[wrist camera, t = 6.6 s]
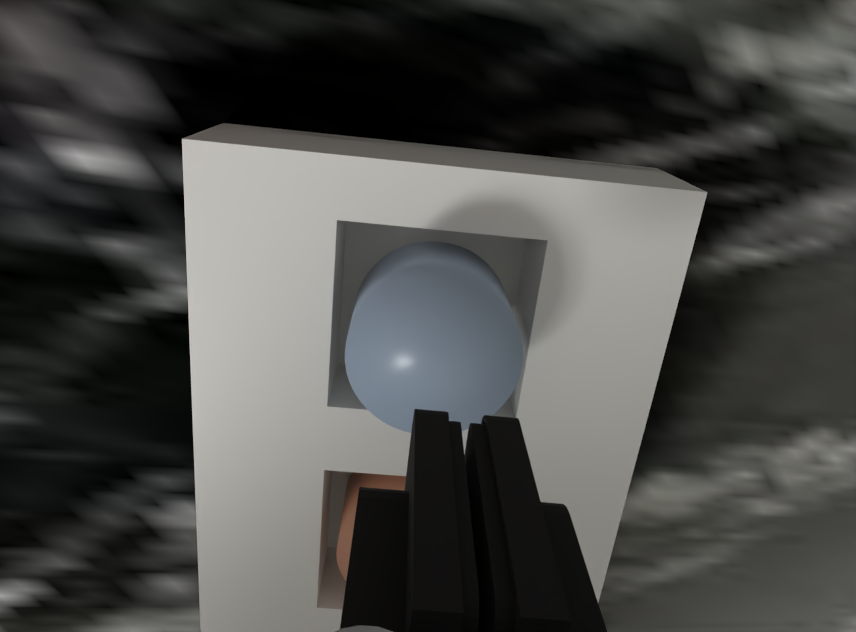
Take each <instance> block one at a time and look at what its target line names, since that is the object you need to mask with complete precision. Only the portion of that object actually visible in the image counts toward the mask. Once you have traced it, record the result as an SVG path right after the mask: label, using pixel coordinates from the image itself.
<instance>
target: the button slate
mask: <svg viewBox="0 0 856 632" xmlns="http://www.w3.org/2000/svg"><path fill="white" fill-rule="evenodd" d="M522 363H523V345H522V339H521V335H520V332H519V329H518V326H517V323H516V320H515V318H514V315H513V312H512V310H511V307H510V304H509V302H508V299H507V296H506V294H505V291H504V288H503V286H502V284H501V282H500V280H499V278H498V276H497V275H496V273H495V272H494V271H493V269H492V268H491V267H490V266H489V265H488V264H487V263H486V262H485V261H484V260H483V259H482V258H480V257H479V256H478V255H476V254H474V253H473V252H471V251H470V250H467V249H465V248H463V247H461V246H458V245H454V244H451V243H445V242H435V241H427V242H418V243H414V244H409V245H406V246H404V247H401V248H398V249H396V250H394V251H393V252H391V253H389V254H388V255H386V256H385V257H383V258H382V259H381V260H380V261H378V262H377V263H376V264H375V265H374V266H373V267H372V269H371V270H370V271H369V272H368V273H367V275H366V277H365V278H364V280H363V282H362V284H361V286H360V288H359V291H358V294H357V298H356V302H355V306H354V310H353V314H352V318H351V323H350V327H349V331H348V335H347V340H346V346H345V366H346V373H347V376H348V379H349V382H350V385H351V387H352V389H353V391H354V393H355V394H356V396H357V397H358V399H359V400H360V402H361V403H362V404H363V405H364V406H365V407H366V409H367V410H369V411H370V412H371V413H372V414H373V415H374V416H375V417H377V418H378V419H380V420H381V421H383V422H384V423H386V424H388V425H390V426H392V427H394V428H397V429H399V430H402V431H405V432H409V433H411V431H412V422H413V415H414V410H415V409H423V410H434V411H445V412H448V414H449V421H456V422H461V428H462V431H464V430H467V429H469V425H470V423H479V424H480V423H481V422H482V418H483V416H484V415H490V416H492V415H493V414H494V413H496V412H497V411H498V410H499V409H500V408H501V407H502V406H503V405H504V404H505V402H506V401H507V400H508V398H509V397H510V396H511V394H512V392H513V390H514V389H515V387H516V384H517V382H518V379H519V377H520V373H521V369H522Z"/></svg>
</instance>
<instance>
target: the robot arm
mask: <svg viewBox="0 0 856 632" xmlns="http://www.w3.org/2000/svg"><path fill="white" fill-rule="evenodd" d="M335 632H607V630H606V627H605V624H604V621H603V617H602V614H601V611H600V608H599V605H598V602H597V598H596V595H595V592H594V589H593V586H592V583H591V579H590V576H589V573H588V570H587V567H586V564H585V561H584V557H583V554H582V551H581V548H580V545H579V542H578V538H577V535H576V532H575V529H574V526H573V523H572V519H571V516H570V513H569V511H568V509H567V507H566V506H565V505H564V504H559V503H547V502H540V498H539V494H538V490H537V486H536V482H535V479H534V475H533V471H532V467H531V463H530V459H529V456H528V452H527V448H526V444H525V440H524V436H523V433H522V429H521V425H520V421H519V419H518V418H512V417H501V416H490V415H484V416H483V418H482V422H481V424H479V423H470V425H469V429H468V435H467V441H466V448H465V454H464V447H463V438H462V428H461V422H456V421H449V414H448V412H445V411H434V410H423V409H415V410H414V415H413V422H412V431H411V439H410V448H409V456H408V465H407V473H406V482H405V490H404V491H403V490H391V489H379V488H367V487H359V493H358V500H357V507H356V514H355V522H354V529H353V536H352V544H351V551H350V558H349V566H348V573H347V580H346V588H345V595H344V602H343V610H342V617H341V624H340V629H339V630H337V631H335Z"/></svg>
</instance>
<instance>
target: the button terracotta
mask: <svg viewBox="0 0 856 632" xmlns="http://www.w3.org/2000/svg"><path fill="white" fill-rule="evenodd" d="M405 482H406V476H396V475H382V474H369V473H356V472H353V473H352V474H351V476H350V478H349V480H348V484H347V487H346V493H345V499H344V506H343V512H342V519H341V525H340V531H339V538H338V544H337V551H336V553H337V563H338V567H339V570H340V572H341V574H342V576H343V578H344V579H345V581H346V580H347V573H348V566H349V558H350V551H351V544H352V536H353V529H354V522H355V514H356V507H357V500H358V493H359V487H367V488H379V489H391V490H403V491H404V490H405Z"/></svg>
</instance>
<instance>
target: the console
mask: <svg viewBox="0 0 856 632" xmlns="http://www.w3.org/2000/svg"><path fill="white" fill-rule="evenodd" d="M182 152H183V179H184V205H185V232H186V258H187V285H188V311H189V338H190V364H191V391H192V417H193V444H194V470H195V497H196V523H197V550H198V576H199V603H200V629H201V632H335V631H337V630H339V629H340V624H341V617H342V610H343V602H344V595H345V588H346V581H345V579H344V578H343V576H342V574H341V572H340V570H339V567H338V563H337V553H336V551H337V544H338V538H339V531H340V525H341V519H342V512H343V506H344V499H345V493H346V487H347V484H348V480H349V478H350V476H351V474H352V473H353V472H356V473H369V474H382V475H396V476H406V473H407V465H408V456H409V448H410V439H411V433H409V432H405V431H402V430H399V429H397V428H394V427H392V426H390V425H388V424H386V423H384V422H383V421H381V420H380V419H378V418H377V417H375V416H374V415H373V414H372V413H371V412H370V411H369V410H367V409H366V407H365V406H364V405H363V404H362V403H361V402H360V400H359V399H358V397H357V396H356V394H355V393H354V391H353V389H352V387H351V385H350V382H349V379H348V376H347V373H346V366H345V346H346V340H347V335H348V331H349V327H350V323H351V318H352V314H353V310H354V306H355V302H356V298H357V294H358V291H359V288H360V286H361V284H362V282H363V280H364V278H365V277H366V275H367V273H368V272H369V271H370V270H371V269H372V267H373V266H374V265H375V264H376V263H377V262H378V261H380V260H381V259H382V258H383V257H385V256H386V255H388V254H389V253H391V252H393V251H394V250H396V249H398V248H401V247H404V246H406V245H409V244H414V243H418V242H427V241H435V242H445V243H451V244H454V245H458V246H461V247H463V248H465V249H467V250H470V251H471V252H473V253H474V254H476V255H478V256H479V257H480V258H482V259H483V260H484V261H485V262H486V263H487V264H488V265H489V266H490V267H491V268H492V269H493V271H494V272H495V273H496V275H497V276H498V278H499V280H500V282H501V284H502V286H503V288H504V291H505V294H506V296H507V299H508V302H509V304H510V307H511V310H512V312H513V315H514V318H515V320H516V323H517V326H518V329H519V332H520V335H521V339H522V345H523V363H522V369H521V373H520V377H519V379H518V382H517V384H516V387H515V389H514V390H513V392H512V394H511V396H510V397H509V398H508V400H507V401H506V402H505V404H504V405H503V406H502V407H501V408H500V409H499V410H498V411H497V412H496V413H494V414H493V415H492V416H501V417H512V418H518V419H519V421H520V425H521V429H522V433H523V436H524V440H525V444H526V448H527V452H528V456H529V459H530V463H531V467H532V471H533V475H534V479H535V482H536V486H537V490H538V494H539V498H540V502H547V503H559V504H564V505H565V506H566V507H567V509H568V511H569V513H570V516H571V519H572V523H573V526H574V529H575V532H576V535H577V538H578V542H579V545H580V548H581V551H582V554H583V557H584V561H585V564H586V567H587V570H588V573H589V576H590V579H591V583H592V586H593V589H594V592H595V595H596V598H597V602H598V603H599V599H600V595H601V591H602V587H603V584H604V580H605V576H606V572H607V569H608V565H609V561H610V557H611V554H612V550H613V546H614V542H615V539H616V535H617V531H618V527H619V523H620V520H621V516H622V512H623V508H624V505H625V501H626V497H627V493H628V490H629V486H630V482H631V478H632V474H633V471H634V467H635V463H636V459H637V456H638V452H639V448H640V444H641V441H642V437H643V433H644V429H645V426H646V422H647V418H648V414H649V410H650V407H651V403H652V399H653V395H654V392H655V388H656V384H657V380H658V377H659V373H660V369H661V365H662V362H663V358H664V354H665V350H666V346H667V343H668V339H669V335H670V331H671V328H672V324H673V320H674V316H675V313H676V309H677V305H678V301H679V298H680V294H681V290H682V286H683V282H684V279H685V275H686V271H687V267H688V264H689V260H690V256H691V252H692V249H693V245H694V241H695V237H696V234H697V230H698V226H699V222H700V218H701V215H702V211H703V207H704V203H705V200H706V196H707V192H706V191H704V190H702V189H699V188H697V187H695V186H693V185H691V184H689V183H687V182H685V181H683V180H681V179H679V178H677V177H675V176H673V175H670V174H668V173H666V172H664V171H662V170H660V169H658V168H653V167H643V166H633V165H624V164H614V163H605V162H595V161H585V160H576V159H566V158H556V157H547V156H537V155H527V154H518V153H508V152H498V151H489V150H479V149H470V148H460V147H450V146H441V145H431V144H421V143H412V142H402V141H392V140H383V139H373V138H363V137H354V136H344V135H335V134H325V133H315V132H306V131H296V130H286V129H277V128H267V127H257V126H248V125H238V124H228V123H222V124H220V125H217V126H215V127H212V128H209V129H207V130H204V131H201V132H199V133H196V134H193V135H191V136H188V137H185V138H183V139H182ZM480 424H481V423H480ZM467 435H468V429H467V430H464V431H462V438H463V447H464V454H465V448H466V441H467Z"/></svg>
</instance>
